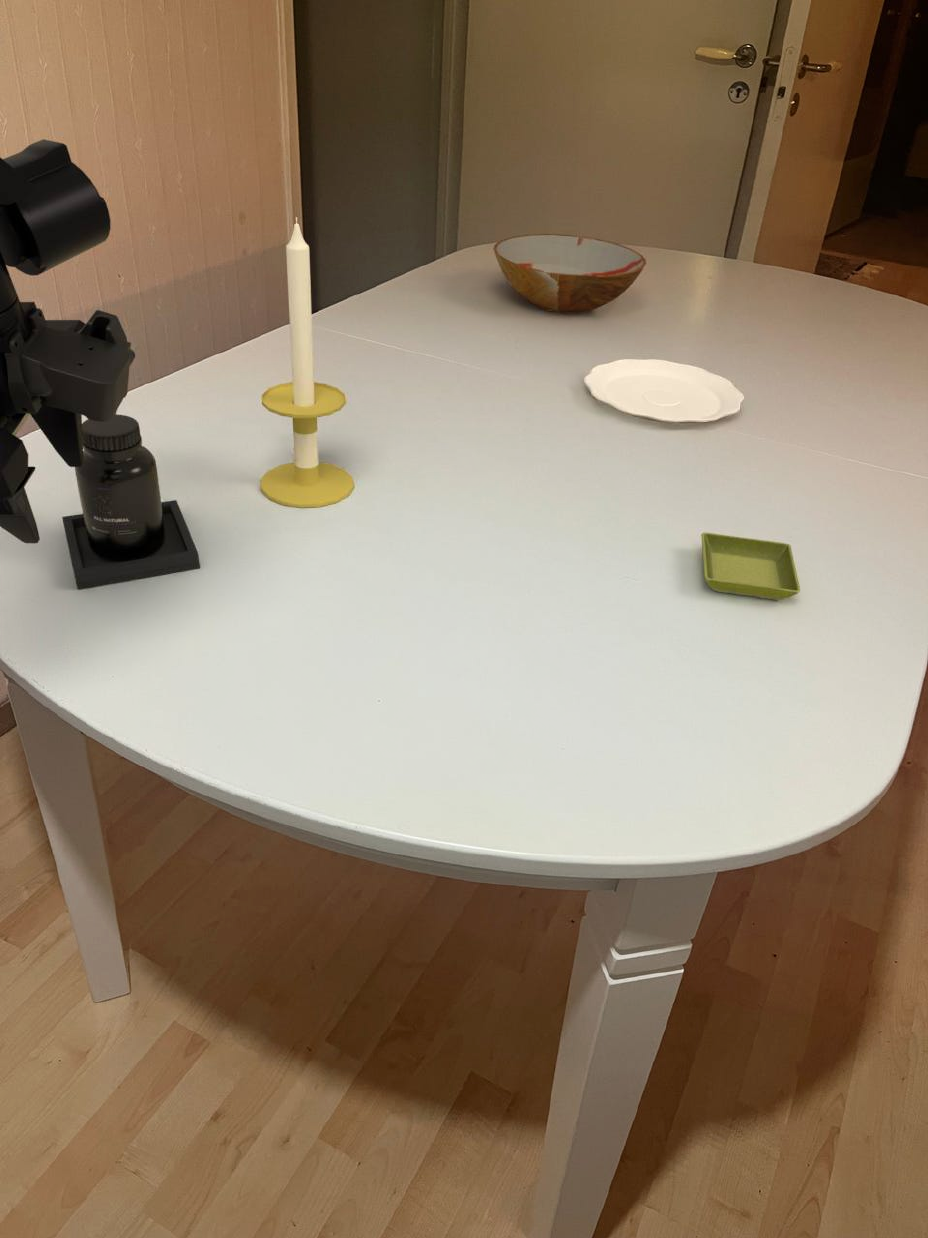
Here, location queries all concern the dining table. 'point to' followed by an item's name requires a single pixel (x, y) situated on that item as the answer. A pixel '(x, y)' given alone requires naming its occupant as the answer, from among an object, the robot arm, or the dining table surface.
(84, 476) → the supplement bottle
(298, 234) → the candle
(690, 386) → the plate
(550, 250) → the bowl
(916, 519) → the dining table surface
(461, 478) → the dining table surface
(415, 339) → the dining table surface
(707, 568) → the olive green square dish
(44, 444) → the dining table surface
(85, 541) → the dock pad
